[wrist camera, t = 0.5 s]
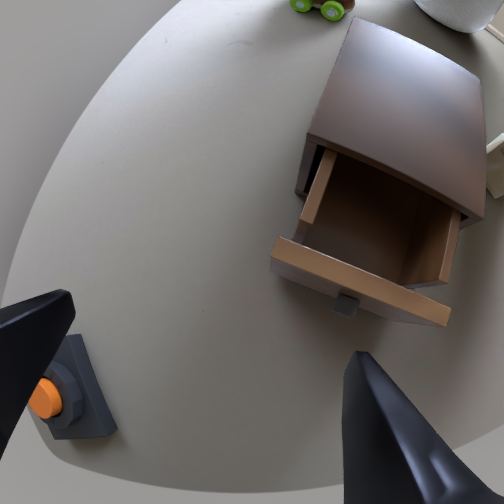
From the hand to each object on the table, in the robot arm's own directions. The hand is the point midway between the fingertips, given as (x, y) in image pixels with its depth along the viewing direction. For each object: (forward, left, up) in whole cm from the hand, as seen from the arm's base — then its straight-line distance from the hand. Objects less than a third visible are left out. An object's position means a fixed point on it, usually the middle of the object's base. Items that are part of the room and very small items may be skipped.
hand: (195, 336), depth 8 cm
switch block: (-2, +20, -16) cm, 25 cm away
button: (-2, +20, -12) cm, 23 cm away
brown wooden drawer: (+3, -12, -15) cm, 19 cm away
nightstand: (+9, -17, -16) cm, 25 cm away
